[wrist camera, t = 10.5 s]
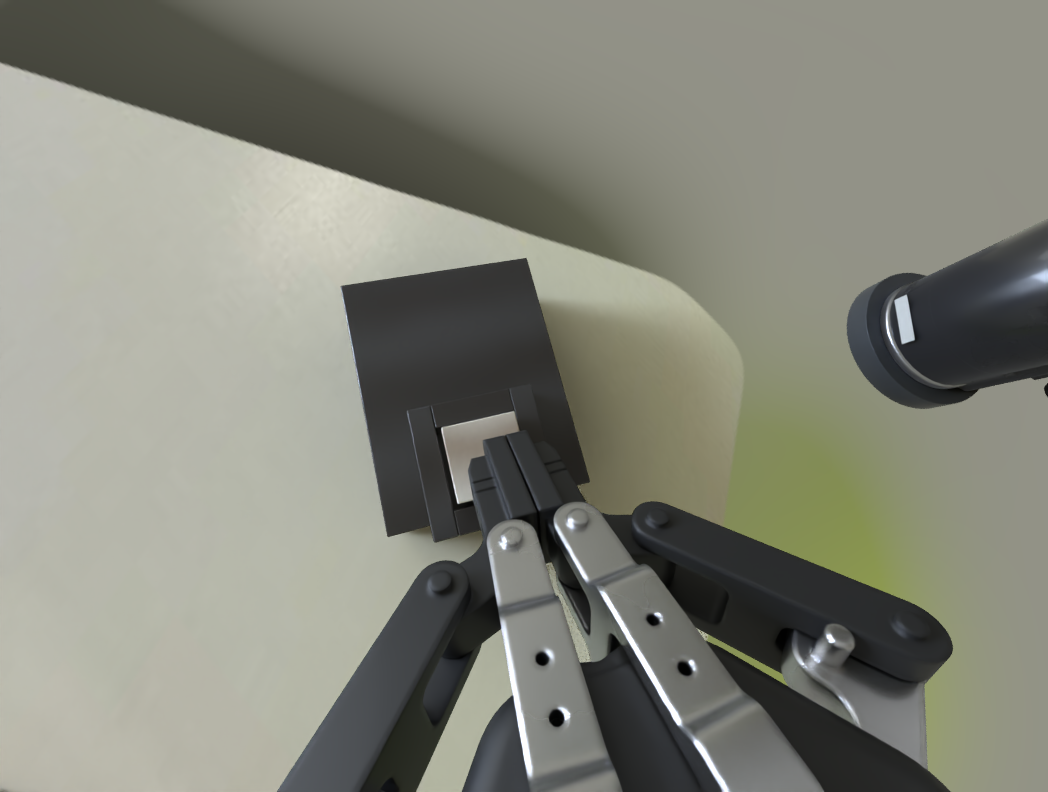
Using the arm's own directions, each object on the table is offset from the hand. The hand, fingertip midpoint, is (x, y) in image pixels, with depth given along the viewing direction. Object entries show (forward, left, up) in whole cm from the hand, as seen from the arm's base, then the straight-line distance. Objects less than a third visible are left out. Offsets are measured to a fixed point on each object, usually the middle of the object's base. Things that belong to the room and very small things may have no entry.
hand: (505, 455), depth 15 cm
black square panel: (+3, -4, -14) cm, 15 cm away
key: (0, 0, -7) cm, 8 cm away
